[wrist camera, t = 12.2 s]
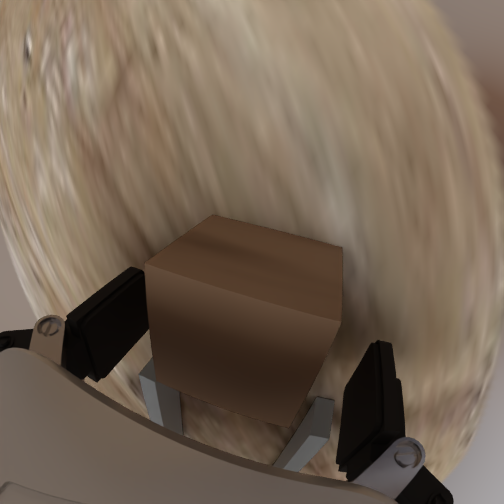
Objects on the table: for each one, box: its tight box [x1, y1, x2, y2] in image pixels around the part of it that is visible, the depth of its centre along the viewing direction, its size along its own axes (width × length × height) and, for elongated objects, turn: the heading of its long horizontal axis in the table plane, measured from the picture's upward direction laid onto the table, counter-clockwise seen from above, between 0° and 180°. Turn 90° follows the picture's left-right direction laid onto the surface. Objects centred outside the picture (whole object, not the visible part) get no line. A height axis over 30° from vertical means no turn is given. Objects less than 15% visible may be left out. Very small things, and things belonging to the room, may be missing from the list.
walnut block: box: [144, 215, 343, 428], centre depth 9 cm, size 5×5×4 cm
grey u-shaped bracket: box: [139, 357, 334, 472], centre depth 17 cm, size 21×10×2 cm, turn 171°
